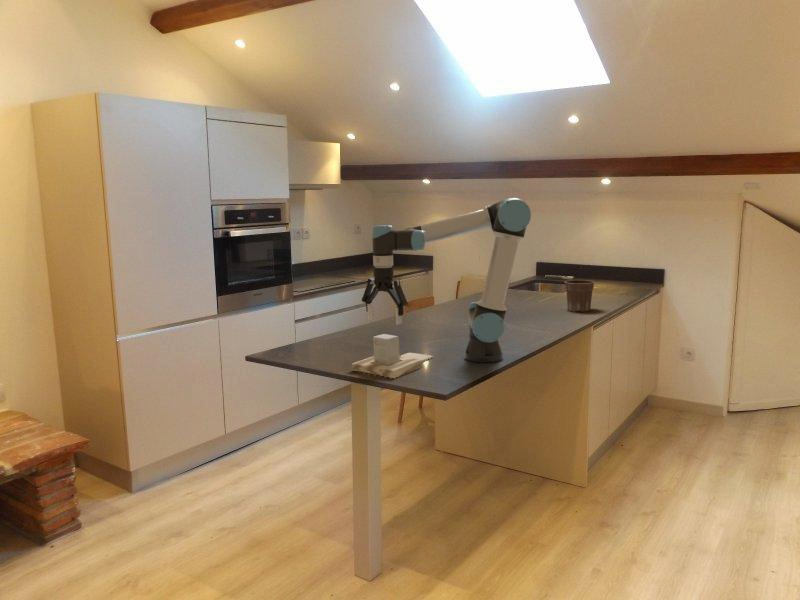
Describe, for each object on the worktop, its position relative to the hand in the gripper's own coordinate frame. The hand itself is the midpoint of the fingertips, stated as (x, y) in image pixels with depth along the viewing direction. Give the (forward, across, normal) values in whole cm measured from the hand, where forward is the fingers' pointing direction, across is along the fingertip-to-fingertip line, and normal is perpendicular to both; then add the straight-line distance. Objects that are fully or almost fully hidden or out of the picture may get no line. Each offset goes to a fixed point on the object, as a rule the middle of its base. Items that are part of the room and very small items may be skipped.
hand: (384, 322), depth 238 cm
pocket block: (+18, 0, 0) cm, 19 cm away
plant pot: (+18, +19, +150) cm, 153 cm away
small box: (+19, 0, 0) cm, 19 cm away
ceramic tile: (+18, 0, +18) cm, 26 cm away
